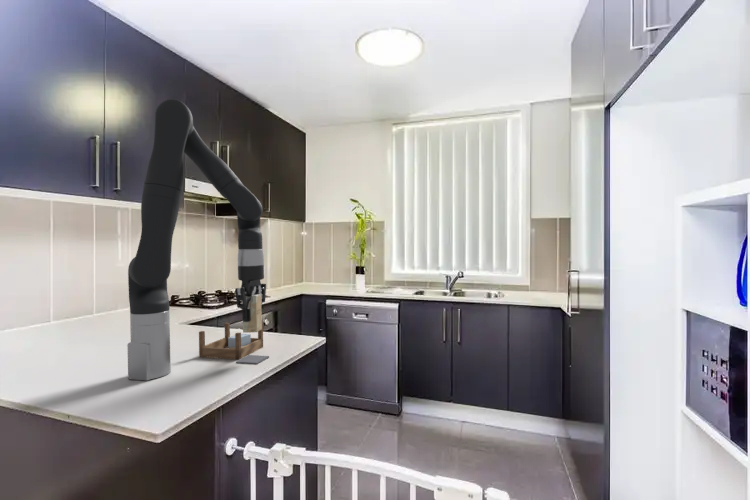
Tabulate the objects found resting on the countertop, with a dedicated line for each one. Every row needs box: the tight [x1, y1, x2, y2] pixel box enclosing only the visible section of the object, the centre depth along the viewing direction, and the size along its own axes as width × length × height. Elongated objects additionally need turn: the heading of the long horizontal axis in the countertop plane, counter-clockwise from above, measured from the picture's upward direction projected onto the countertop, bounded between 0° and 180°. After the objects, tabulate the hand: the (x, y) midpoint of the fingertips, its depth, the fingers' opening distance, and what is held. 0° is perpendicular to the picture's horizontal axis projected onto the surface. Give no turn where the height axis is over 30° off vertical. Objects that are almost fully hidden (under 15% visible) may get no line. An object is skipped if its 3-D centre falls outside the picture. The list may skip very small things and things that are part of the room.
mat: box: [235, 354, 270, 365], centre depth 115 cm, size 7×7×1 cm
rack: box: [198, 322, 264, 361], centre depth 124 cm, size 14×14×8 cm
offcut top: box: [227, 333, 252, 348], centre depth 122 cm, size 6×4×3 cm, turn 162°
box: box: [242, 294, 263, 334], centre depth 115 cm, size 5×4×11 cm
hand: (252, 319), depth 115 cm, fingers closed on box, 5 cm apart
